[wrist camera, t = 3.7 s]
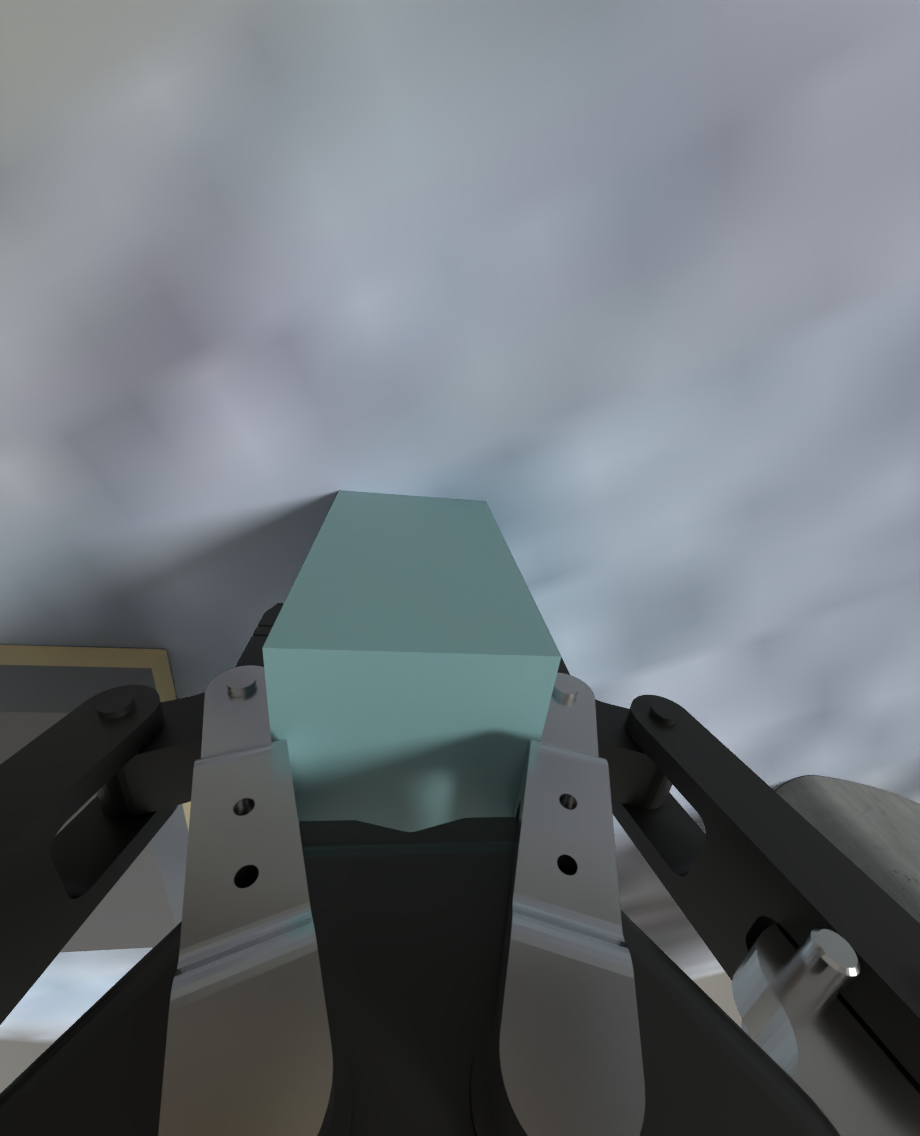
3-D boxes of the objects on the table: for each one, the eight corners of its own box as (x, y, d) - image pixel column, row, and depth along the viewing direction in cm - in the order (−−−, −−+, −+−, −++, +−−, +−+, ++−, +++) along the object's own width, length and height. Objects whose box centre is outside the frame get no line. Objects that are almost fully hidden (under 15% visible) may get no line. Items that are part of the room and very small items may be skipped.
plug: (339, 489, 14) (262, 647, 7) (485, 501, 14) (561, 656, 7) (340, 653, 16) (285, 894, 9) (464, 656, 17) (504, 884, 10)
